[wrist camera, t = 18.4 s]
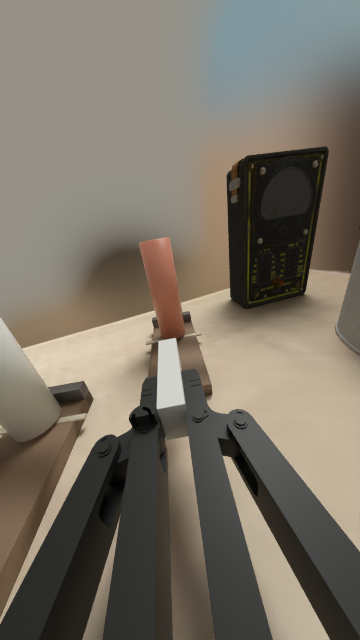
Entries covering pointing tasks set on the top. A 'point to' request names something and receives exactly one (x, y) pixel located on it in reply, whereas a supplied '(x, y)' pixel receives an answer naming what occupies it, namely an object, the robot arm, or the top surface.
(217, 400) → the top surface
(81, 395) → the brown wooden board
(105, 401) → the top surface
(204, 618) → the top surface
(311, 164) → the voltmeter
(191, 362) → the brown base
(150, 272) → the terracotta plug
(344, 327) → the container
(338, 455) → the top surface
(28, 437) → the grey plug
